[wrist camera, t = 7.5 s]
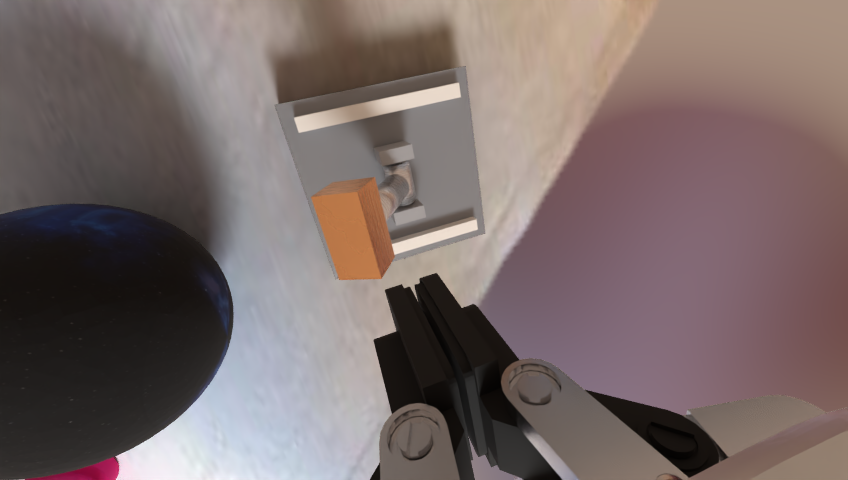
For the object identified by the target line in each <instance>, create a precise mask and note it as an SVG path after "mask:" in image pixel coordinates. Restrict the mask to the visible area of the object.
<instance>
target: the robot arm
mask: <svg viewBox="0 0 848 480" xmlns="http://www.w3.org/2000/svg"><path fill="white" fill-rule="evenodd" d="M415 290H416V294H417V298H418V301H417V299H416V297H415V295H414V293H413V292H412V290H411V288H410V287H407V288H404V287H403V286H402V284H401V285H398V286H395V287H392V288H389V289H386V290H385V292H386V296H387V299H388V303H389V306H390V310H391V313H392V317H393V320H394V324H395V327H396V332H393V333H391V334H388V335H385V336H382V337H379V338H377V339H374V344H375V348H376V352H377V356H378V360H379V364H380V368H381V372H382V376H383V380H384V384H385V388H386V392H387V396H388V400H389V404H390V408H391V412H392V415H391V416H390V417H389V418H388V420H387V421H386V422H385V424H384V426H383V428H382V430H381V433H380V441H379V450H380V463H379V465H378V467H377V468H376V470H375V472H374V473H373V475H372V477H371V479H370V480H475V478H474V474H473V469H472V464H471V460H473V457H472V452H471V447H470V443H469V438H470V440H471V443H472V445H473V447H474V449H475V451H476V453H477V455H478V457H480V456H482V455H486V457H487V459H488V461H489V463H490V465H491V467H493V466H495V465H498V467H499V469H500V470H502V471H504V472H507V473H510V474H512V475H513V476H514V478H515V480H848V407H847V408H843V409H839V410H836V411H832V412H828V413H826V412H824V411H823V410H821V409H820V408H818V407H816V406H815V405H813V404H810V403H808V402H806V401H803V400H801V399H798V398H794V397H789V396H785V395H768V396H762V397H757V398H751V399H745V400H740V401H734V402H728V403H722V404H717V405H711V406H705V407H700V408H694V409H688V410H687V415H683V416H682V415H680V414H677V413H674V412H671V411H668V410H665V409H661V408H656V407H652V406H648V405H644V404H640V403H636V402H632V401H628V400H624V399H620V398H616V397H612V396H608V395H604V394H599V393H596V392H592V391H588V390H584V389H583V388H582V387H580V386H579V385H578V384H577V383H576V382H575V381H573V380H572V379H571V378H570V377H569V376H567V375H566V374H565V373H564V372H562V371H561V370H560V369H559V368H558V367H556V366H554V365H553V364H551V363H549V362H546V361H544V360H541V359H522V360H519V359H518V358H517V356H516V355H515V354H514V352H513V351H512V350H511V349H510V347H509V346H508V345H507V344H506V342H505V341H504V340H503V339H502V337H501V336H500V335H499V333H498V332H497V331H496V330H495V328H494V327H493V326H492V325H491V324H490V322H489V321H488V320H487V318H486V317H485V316H484V315H483V313H482V312H481V311H480V309H479V308H478V307H477V306H476V305H474V304H472V305H469V306H467V307H464V308H461V306H460V305H459V304H458V302H457V301H456V299H455V298H454V297H453V295H452V294H451V292H450V291H449V290H448V288H447V287H446V285H445V284H444V283H443V281H442V280H441V278H440V277H439V275H438V274H437V273H435V274H432V275H429V276H426V277H423V278H420V283H419V284H416V285H415ZM468 436H469V438H468Z"/></svg>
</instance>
